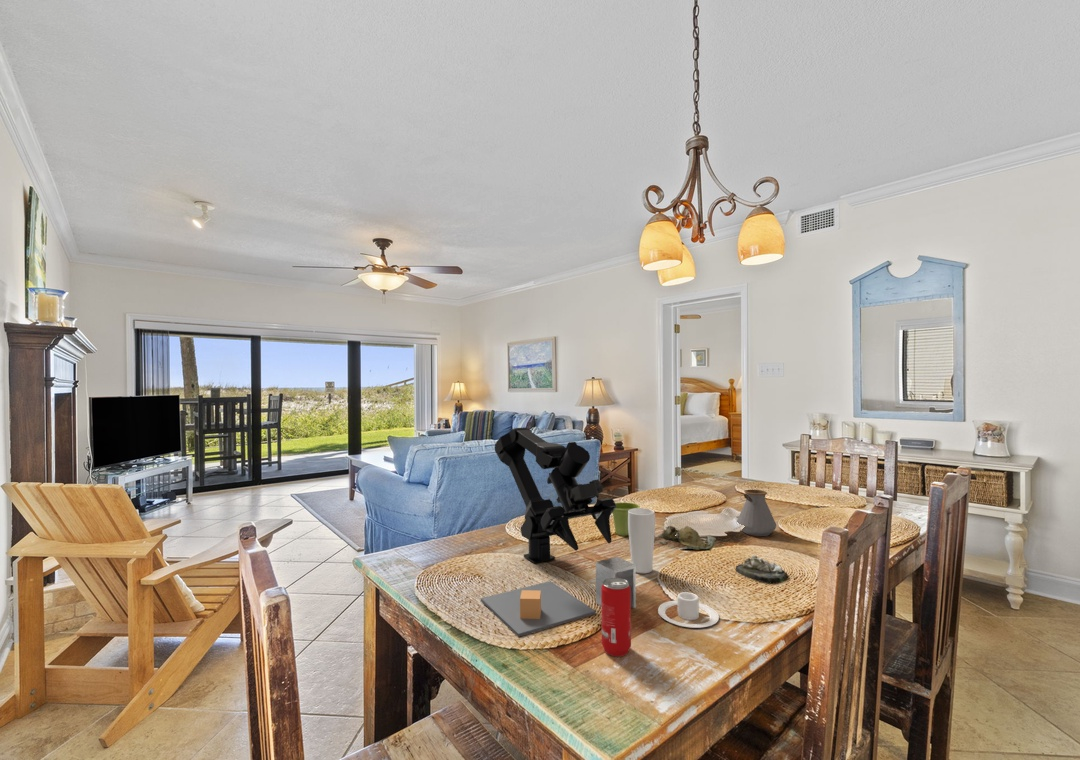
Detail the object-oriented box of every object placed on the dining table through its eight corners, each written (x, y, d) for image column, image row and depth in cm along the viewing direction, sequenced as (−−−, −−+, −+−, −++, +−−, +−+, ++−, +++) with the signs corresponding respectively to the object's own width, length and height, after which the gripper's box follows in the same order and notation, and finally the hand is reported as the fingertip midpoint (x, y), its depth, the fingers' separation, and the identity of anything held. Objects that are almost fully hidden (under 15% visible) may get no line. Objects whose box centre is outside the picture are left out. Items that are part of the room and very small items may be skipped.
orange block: (521, 609, 104) (521, 590, 104) (541, 609, 104) (540, 590, 104) (520, 618, 100) (520, 598, 100) (540, 618, 100) (539, 598, 100)
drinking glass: (656, 576, 122) (655, 515, 122) (628, 574, 124) (627, 514, 124) (655, 566, 129) (654, 508, 129) (628, 564, 130) (628, 507, 130)
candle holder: (652, 603, 108) (652, 583, 108) (708, 603, 108) (708, 583, 108) (664, 631, 96) (664, 608, 96) (727, 631, 96) (727, 609, 96)
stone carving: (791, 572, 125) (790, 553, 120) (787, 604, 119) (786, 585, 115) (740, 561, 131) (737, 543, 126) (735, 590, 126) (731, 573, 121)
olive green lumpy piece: (731, 551, 142) (731, 532, 142) (671, 554, 139) (671, 535, 139) (701, 532, 159) (701, 515, 159) (648, 535, 156) (648, 517, 156)
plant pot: (604, 534, 156) (604, 506, 156) (618, 527, 163) (617, 500, 163) (632, 540, 150) (632, 511, 150) (644, 532, 158) (644, 504, 158)
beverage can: (599, 642, 92) (598, 577, 92) (626, 641, 92) (626, 576, 92) (605, 658, 86) (604, 589, 86) (634, 657, 87) (633, 588, 87)
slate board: (480, 600, 110) (480, 598, 110) (550, 583, 119) (550, 581, 119) (518, 637, 94) (518, 633, 94) (595, 613, 103) (595, 611, 103)
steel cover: (596, 603, 108) (595, 561, 108) (618, 597, 111) (617, 556, 111) (613, 614, 103) (613, 570, 103) (635, 607, 106) (635, 565, 106)
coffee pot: (741, 525, 164) (740, 479, 164) (779, 530, 158) (779, 483, 158) (724, 542, 147) (723, 492, 147) (766, 550, 140) (765, 496, 140)
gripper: (545, 473, 113) (572, 534, 104) (611, 465, 122) (642, 520, 113) (530, 500, 120) (554, 560, 111) (593, 490, 129) (620, 545, 120)
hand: (594, 546), depth 113 cm, fingers open, 9 cm apart
